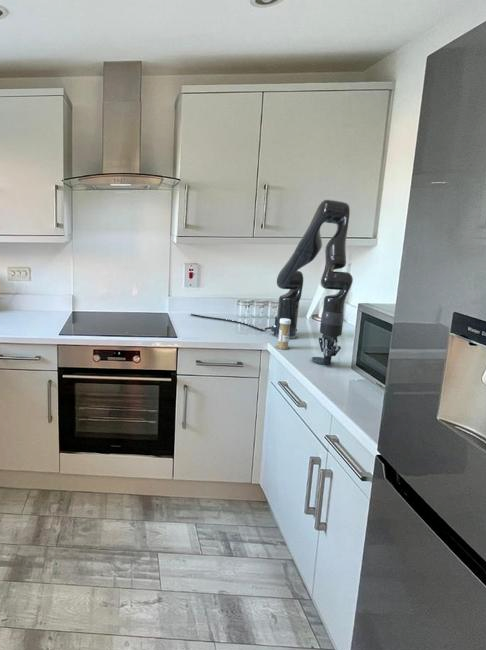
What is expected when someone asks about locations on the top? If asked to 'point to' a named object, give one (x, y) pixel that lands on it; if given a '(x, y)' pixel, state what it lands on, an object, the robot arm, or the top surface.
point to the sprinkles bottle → (284, 333)
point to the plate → (318, 360)
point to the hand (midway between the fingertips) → (326, 364)
